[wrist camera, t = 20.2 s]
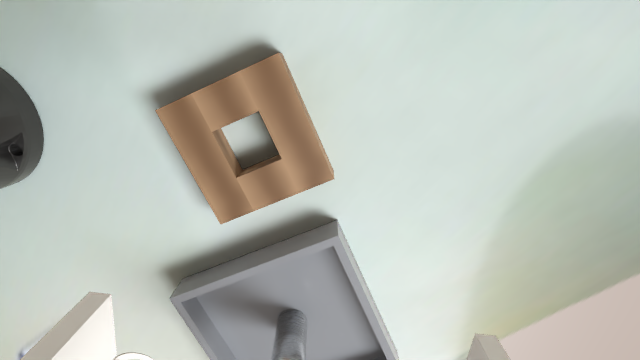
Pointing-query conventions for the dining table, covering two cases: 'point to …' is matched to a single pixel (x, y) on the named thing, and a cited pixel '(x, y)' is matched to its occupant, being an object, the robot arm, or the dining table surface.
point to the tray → (286, 301)
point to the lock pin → (290, 336)
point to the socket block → (216, 154)
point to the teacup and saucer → (133, 356)
